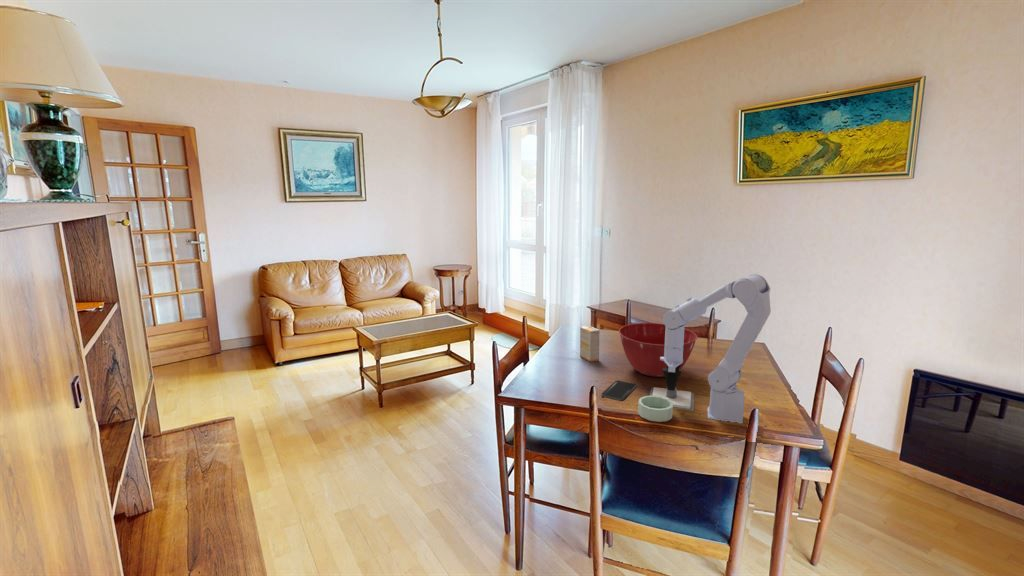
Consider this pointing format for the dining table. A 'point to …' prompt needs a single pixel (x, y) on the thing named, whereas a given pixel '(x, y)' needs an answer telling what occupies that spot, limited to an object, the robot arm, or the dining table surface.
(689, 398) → the lid
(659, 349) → the mixing bowl
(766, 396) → the dining table surface
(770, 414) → the dining table surface
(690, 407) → the mat
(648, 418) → the bowl
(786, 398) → the dining table surface
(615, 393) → the phone
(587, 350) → the supplement box
